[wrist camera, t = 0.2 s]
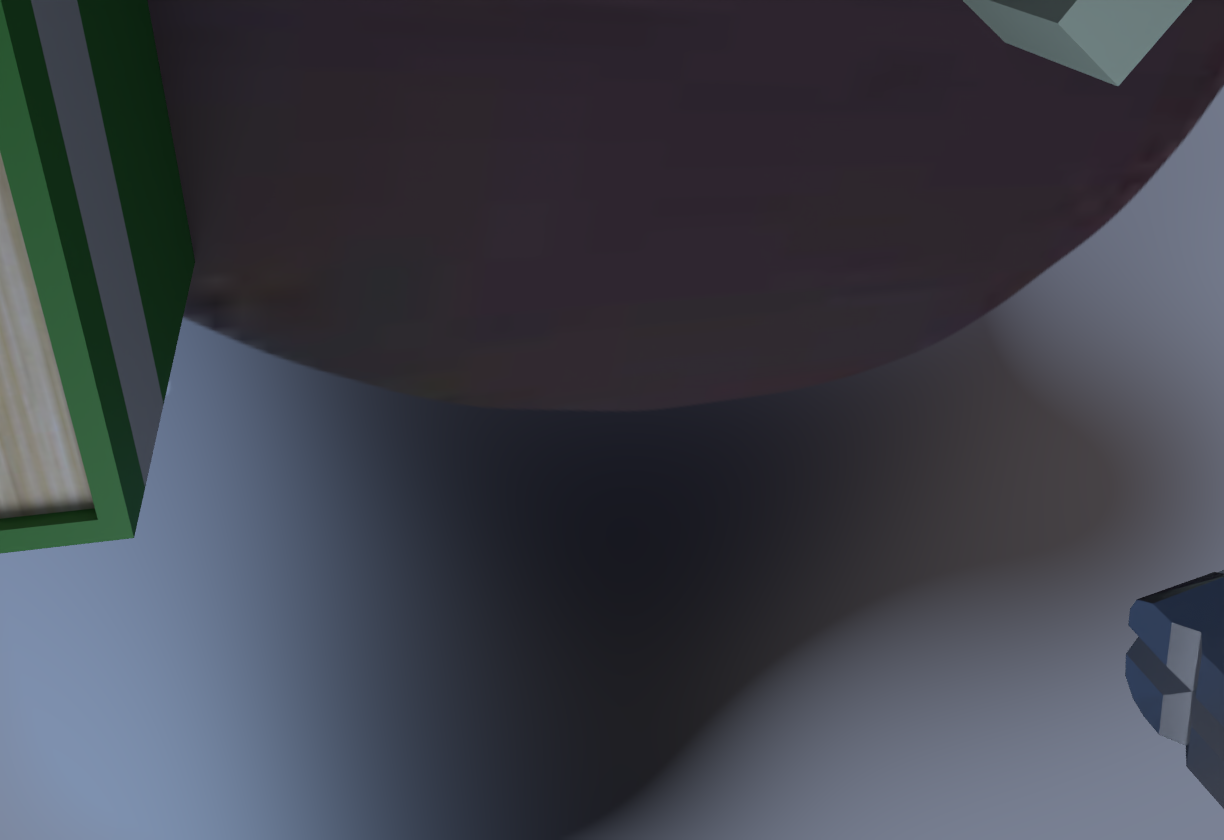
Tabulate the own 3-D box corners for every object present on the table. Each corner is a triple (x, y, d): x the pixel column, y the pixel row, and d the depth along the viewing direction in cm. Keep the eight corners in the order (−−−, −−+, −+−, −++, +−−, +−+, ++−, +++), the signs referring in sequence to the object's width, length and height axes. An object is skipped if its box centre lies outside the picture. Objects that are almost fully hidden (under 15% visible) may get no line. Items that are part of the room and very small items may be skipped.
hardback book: (-66, -124, 45) (-360, -38, 25) (124, -123, 47) (-9, -42, 27) (38, 271, 54) (-119, 567, 34) (195, 261, 56) (133, 537, 36)
